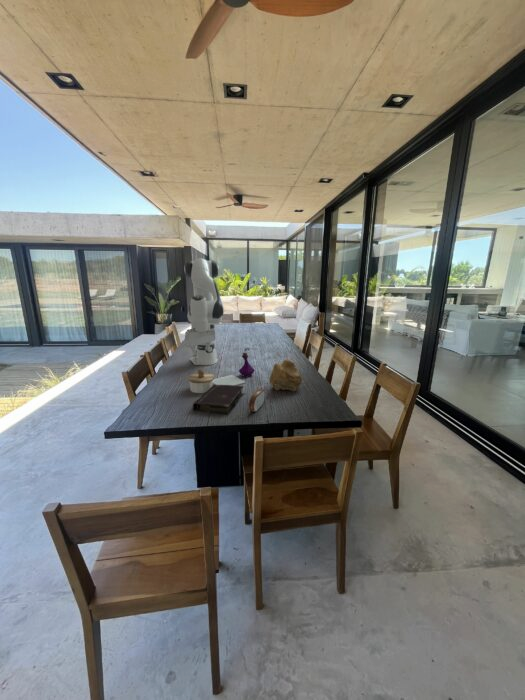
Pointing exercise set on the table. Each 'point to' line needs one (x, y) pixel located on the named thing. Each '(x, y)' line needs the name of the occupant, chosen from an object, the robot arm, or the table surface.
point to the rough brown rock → (285, 376)
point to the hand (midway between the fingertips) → (201, 351)
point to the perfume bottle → (246, 366)
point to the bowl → (200, 387)
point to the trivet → (228, 380)
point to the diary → (219, 399)
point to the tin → (257, 400)
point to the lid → (201, 377)
